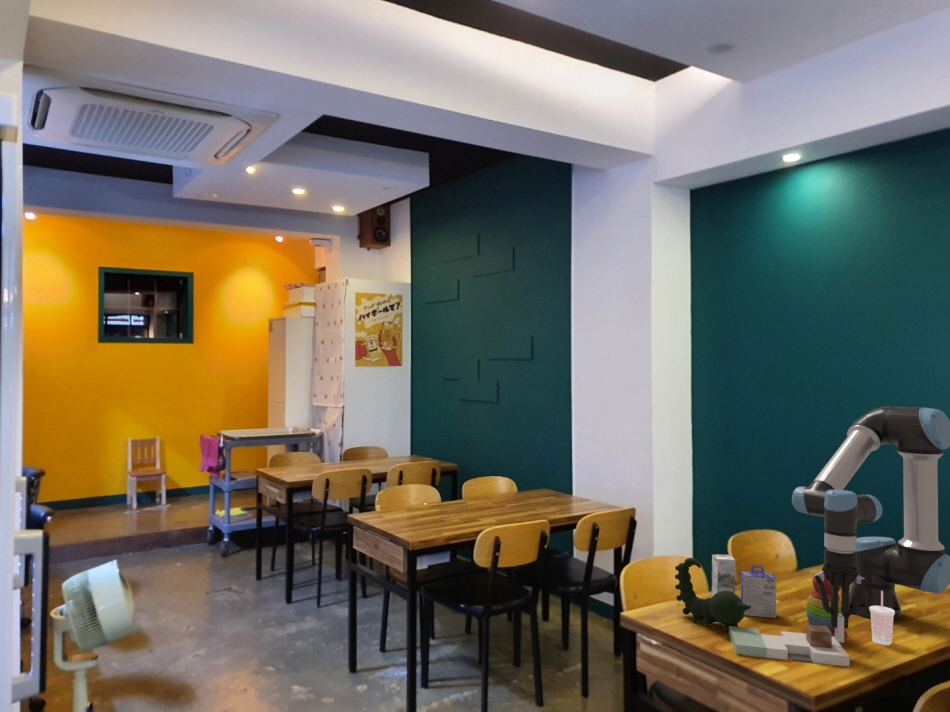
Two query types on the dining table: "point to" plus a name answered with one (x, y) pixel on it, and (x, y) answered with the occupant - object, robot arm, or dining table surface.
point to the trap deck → (785, 647)
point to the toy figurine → (708, 601)
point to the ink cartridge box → (759, 592)
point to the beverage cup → (882, 623)
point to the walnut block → (818, 636)
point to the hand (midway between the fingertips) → (839, 640)
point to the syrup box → (723, 573)
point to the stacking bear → (821, 607)
